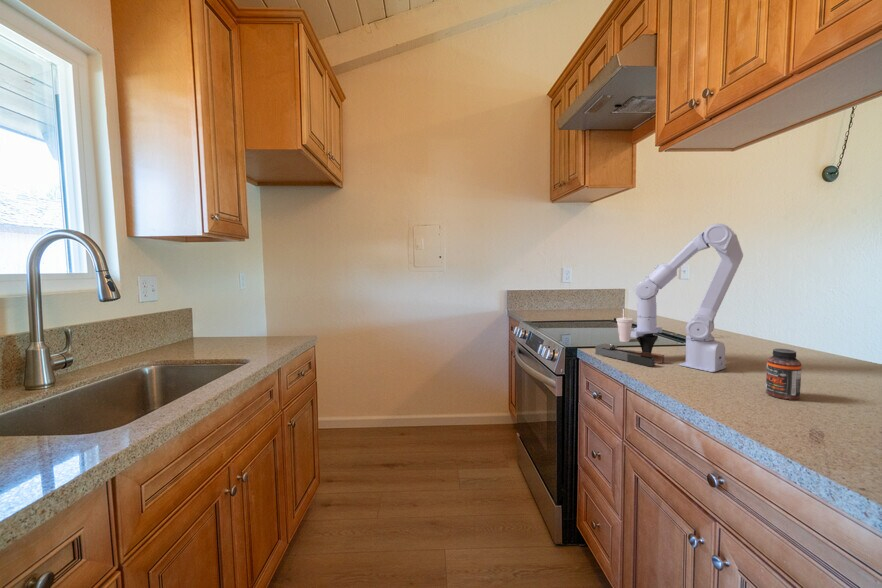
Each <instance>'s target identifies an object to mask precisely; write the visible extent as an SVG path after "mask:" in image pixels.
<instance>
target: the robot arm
mask: <svg viewBox="0 0 882 588" xmlns="http://www.w3.org/2000/svg"><path fill="white" fill-rule="evenodd" d="M711 247H712V248H714V249H715V251H716V252H717V254H718V255H719V257H720V261H719V263H718V265H717V268H716V270H715V272H714V275H713V276H712V279H711V281H710V283H709V285H708V288H707V290H706V292H705V294H704V297H703V299H702V300H701V303H700V305H699V307H698V308H697V309H698V310H697V311H696V313H695V315H694V316H693V318H691V320H690V321H688V322H687V323H686V326H685V332H686V334H687V335H686V336H685V361H683V362H681V363H679V366H682V367H685V368H691V369H696V370H701V371H704V372H705V371H706V372H710V373H716V372H718V371H721V370H725V369H726V368H727V366H726V346H725V343H724V342H721V341H718V340H715V338H716V337H715V336H713V334H712V332H713V331H714V329H715V323H714V321H715V318H716V316H717V313H718V312H719V309H720V307H721V304H722V302H723V301H724V299H725V297H726V294H727V292H728V290H729V288H730V286H731V283H732V281H733V279H734V277H735V275H736V273H737V271H738V269H739V266H740V264H741V262H742V260H743V257H744V253H743V250H742V247H741V245H740V241H739V239H738V235H737V234H736V233H735V232H734V230H732V228H730V227H729V226H728V225H726V224H725V223H719V222H718V223H714V224H711V225H709V226H708V227H706V229H704V231H702V232H700V233H699V234H697V235H696V236H695V237H694V238H693V239H691V240H690V241H689V243H687V244H686V245H685V247H683V248H682V249H681V250H680V251H679V252H678V253H677V254H676V255H675V256H674V257H673V258H671V260H670V261H669V262H667V263H661V264H660V265H659V264H657V265H655V267H654V270H653V271H652V272H651V273H650V274H649V275H648V276H645V277H643V280H644V281H639V282H638V283H637V285H636V286H635V288H634V292H635V295H636V296H637V298H636V299H637V301H636V302H637V303H636V327H634V329H633V330H631V334H630V338H635V339H636V340H637V341H638V343H639V345H640V348H641V352H648V353H653V348H654V345H655V343H656V341H657V340H658V338H659V337H658V335H656V334H657V333H659V334H662V333H663V327H662V326H657V296H658V294H659V291H660V290H662V289H663V288H664V287H665V286H666V285H668V284H669V283H670V282H671V281H672V280H673V279H674V278H676V277H677V273H678V272H677V271H678V269H679V268H680V267H682V266H683V265H684V264H686V263H687V262H688V261H689V260H690V259H691V258H692V257H694V256H695V255H696V254H697V253H699V252H701V251H704V250H707V249H711Z"/></svg>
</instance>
